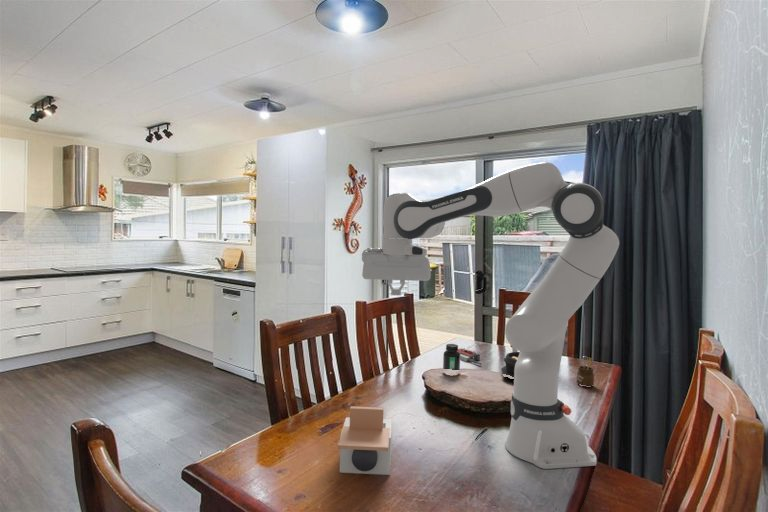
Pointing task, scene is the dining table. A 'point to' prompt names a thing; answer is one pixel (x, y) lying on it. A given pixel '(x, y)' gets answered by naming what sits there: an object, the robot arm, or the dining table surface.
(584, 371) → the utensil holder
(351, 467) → the camera case
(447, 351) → the supplement bottle
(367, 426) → the tan wooden stepped block
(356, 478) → the dining table surface
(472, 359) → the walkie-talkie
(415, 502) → the dining table surface
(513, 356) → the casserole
